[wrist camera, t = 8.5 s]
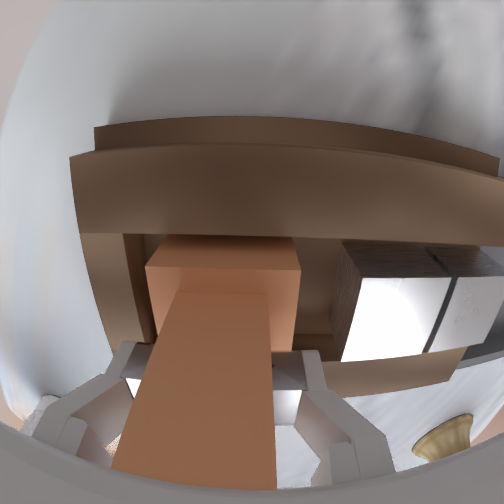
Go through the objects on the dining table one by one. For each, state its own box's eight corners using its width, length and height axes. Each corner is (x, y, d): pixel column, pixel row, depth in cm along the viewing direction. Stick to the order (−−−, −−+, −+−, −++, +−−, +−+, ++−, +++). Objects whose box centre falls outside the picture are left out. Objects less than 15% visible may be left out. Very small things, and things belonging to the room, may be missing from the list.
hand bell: (438, 419, 21) (480, 543, 7) (484, 408, 22) (527, 508, 7) (399, 457, 25) (424, 563, 10) (446, 446, 25) (475, 537, 11)
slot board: (424, 358, 17) (441, 391, 14) (145, 360, 17) (130, 397, 14) (485, 154, 11) (525, 167, 8) (106, 125, 11) (67, 130, 8)
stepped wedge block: (282, 328, 14) (301, 541, 5) (180, 325, 14) (123, 523, 5) (291, 235, 12) (354, 500, 3) (168, 232, 12) (34, 457, 3)
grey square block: (458, 311, 14) (483, 342, 11) (405, 315, 14) (427, 352, 11) (480, 249, 12) (513, 275, 9) (425, 246, 12) (458, 277, 9)
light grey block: (399, 315, 14) (421, 353, 11) (328, 318, 14) (340, 361, 11) (418, 246, 12) (451, 277, 9) (341, 243, 12) (362, 278, 9)
